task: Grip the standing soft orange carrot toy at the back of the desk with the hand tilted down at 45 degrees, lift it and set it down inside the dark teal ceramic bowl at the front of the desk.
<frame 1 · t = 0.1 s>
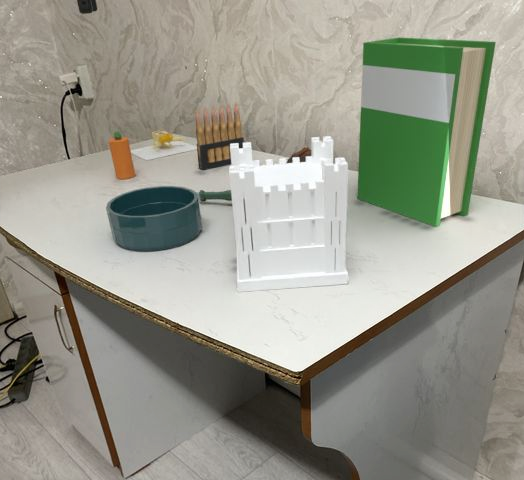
hand: (89, 12, 94), 30 cm above the table, tool pointing down, fingers open, 8 cm apart
castle model: (288, 265, 74), on the table
hardback book: (409, 207, 90), on the table
character toy: (163, 150, 132), on the table
ammunition clip: (222, 165, 117), on the table
toy soldier: (281, 195, 99), on the table
carrot toy: (125, 176, 115), on the table
bowl: (158, 233, 87), on the table
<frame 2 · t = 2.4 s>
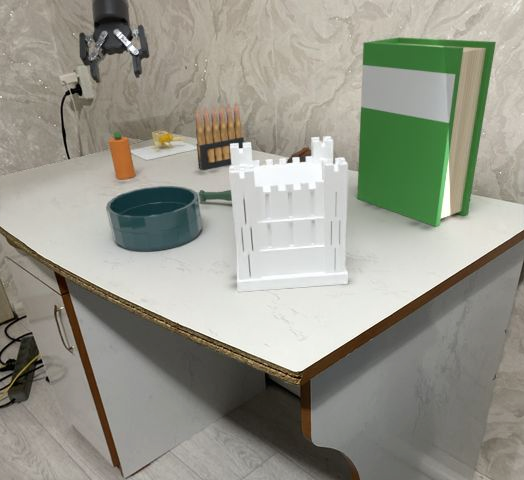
hand: (117, 78, 113), 18 cm above the table, tool tilted 40°, fingers open, 8 cm apart
nothing on the table moved.
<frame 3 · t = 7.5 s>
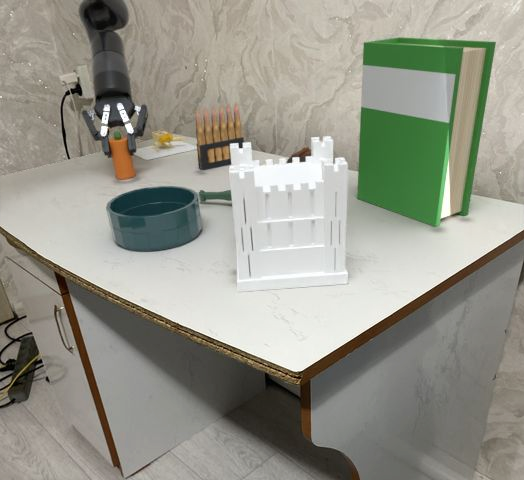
hand: (120, 154, 110), 5 cm above the table, tool tilted 45°, fingers closed on carrot toy, 4 cm apart
carrot toy: (125, 176, 115), on the table, touching gripper
everything else where it was.
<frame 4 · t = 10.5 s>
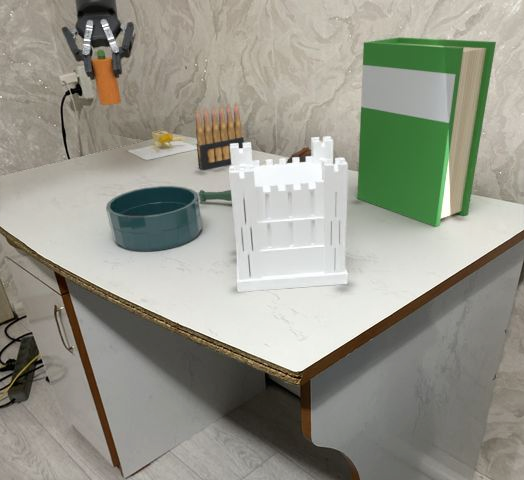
hand: (104, 75, 100), 20 cm above the table, tool tilted 45°, fingers closed on carrot toy, 4 cm apart
carrot toy: (110, 102, 105), point 15 cm above the table, touching gripper
everything else where it was.
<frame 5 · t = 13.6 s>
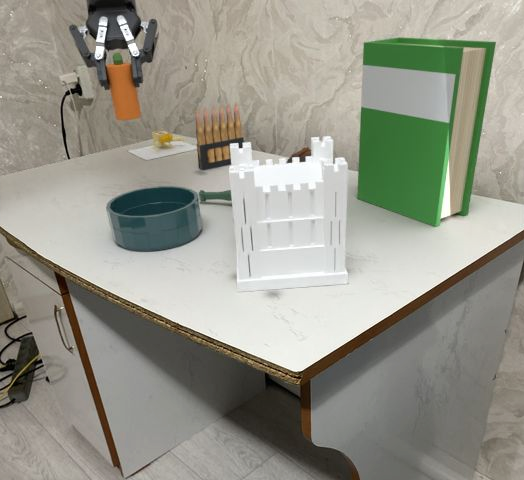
hand: (121, 84, 82), 21 cm above the table, tool tilted 45°, fingers closed on carrot toy, 4 cm apart
carrot toy: (128, 117, 86), point 16 cm above the table, touching gripper
everything else where it was.
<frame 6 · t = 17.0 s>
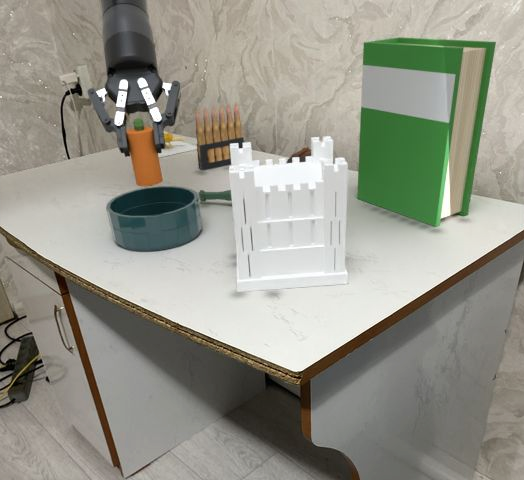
hand: (142, 151, 77), 13 cm above the table, tool tilted 45°, fingers closed on carrot toy, 4 cm apart
carrot toy: (149, 182, 82), point 8 cm above the table, touching gripper
everything else where it was.
when the fingers open (6 cm above the table, at t = 19.6 s): carrot toy stays where it is, resting on bowl.
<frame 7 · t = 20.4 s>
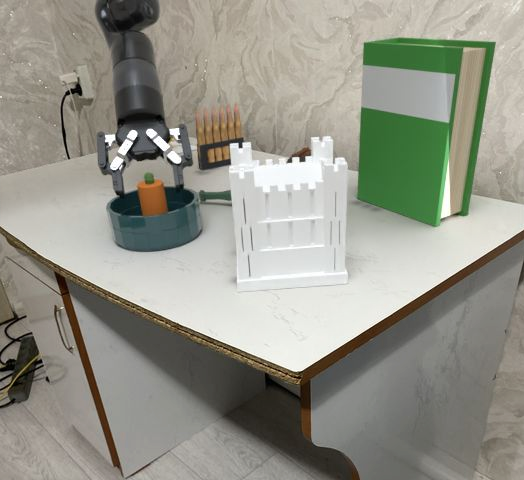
hand: (150, 193, 81), 7 cm above the table, tool tilted 45°, fingers open, 8 cm apart
carrot toy: (158, 230, 86), point 1 cm above the table, touching bowl
everything else where it was.
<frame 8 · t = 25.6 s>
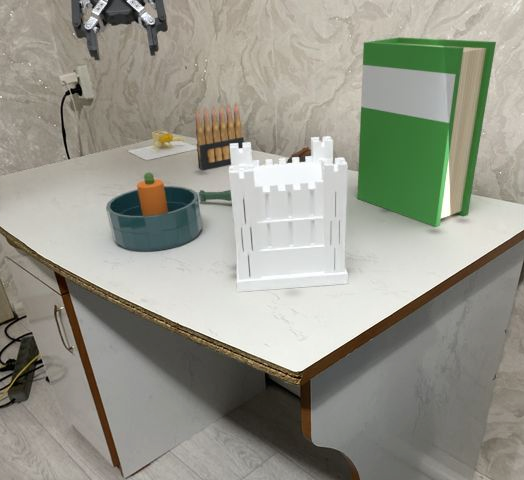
hand: (124, 54, 82), 25 cm above the table, tool tilted 45°, fingers open, 8 cm apart
nothing on the table moved.
at the end: carrot toy inside the target area in the bowl (0.1 cm from its centre), point 0.6 cm above the bowl's base; the gripper is holding nothing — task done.
